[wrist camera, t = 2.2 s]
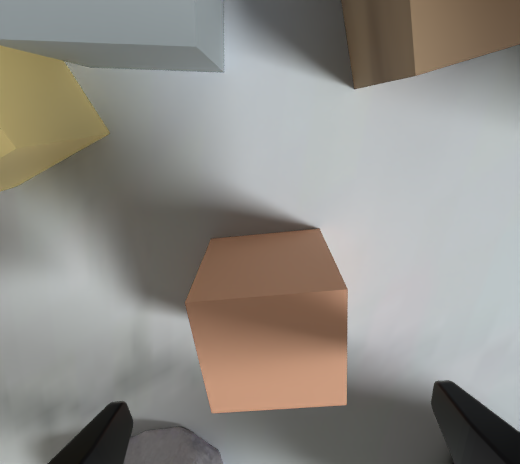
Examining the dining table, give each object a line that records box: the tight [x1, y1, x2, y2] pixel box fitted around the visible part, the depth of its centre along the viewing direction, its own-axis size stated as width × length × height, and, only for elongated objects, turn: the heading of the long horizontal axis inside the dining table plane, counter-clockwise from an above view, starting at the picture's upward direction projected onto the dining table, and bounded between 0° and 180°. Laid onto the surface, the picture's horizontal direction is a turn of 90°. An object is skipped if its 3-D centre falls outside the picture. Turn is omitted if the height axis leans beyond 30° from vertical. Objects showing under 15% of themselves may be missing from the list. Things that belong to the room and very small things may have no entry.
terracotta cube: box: [185, 229, 348, 413], centre depth 12 cm, size 5×5×5 cm
